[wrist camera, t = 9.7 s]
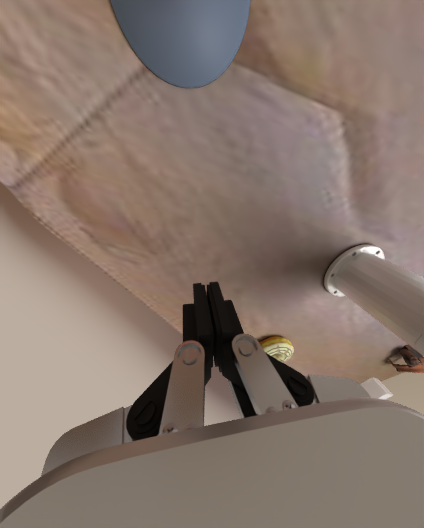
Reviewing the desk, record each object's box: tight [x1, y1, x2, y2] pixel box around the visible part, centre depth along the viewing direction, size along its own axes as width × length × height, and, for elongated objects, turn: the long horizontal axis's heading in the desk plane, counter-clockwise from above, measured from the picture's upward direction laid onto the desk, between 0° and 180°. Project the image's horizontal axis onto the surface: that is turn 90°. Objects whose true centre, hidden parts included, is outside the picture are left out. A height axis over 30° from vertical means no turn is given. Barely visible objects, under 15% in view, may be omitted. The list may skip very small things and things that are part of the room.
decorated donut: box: [260, 336, 294, 363], centre depth 45 cm, size 10×11×4 cm
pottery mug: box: [388, 345, 424, 373], centre depth 59 cm, size 12×10×8 cm
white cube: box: [360, 378, 393, 400], centre depth 69 cm, size 6×6×6 cm
